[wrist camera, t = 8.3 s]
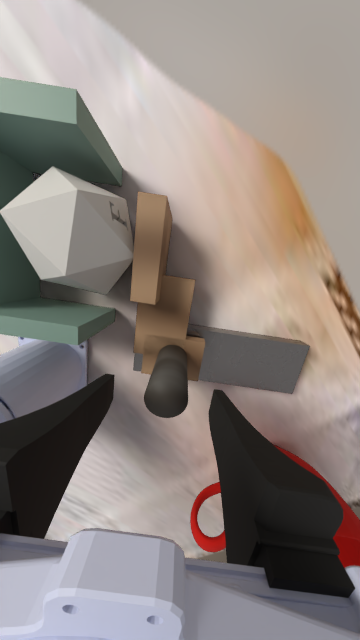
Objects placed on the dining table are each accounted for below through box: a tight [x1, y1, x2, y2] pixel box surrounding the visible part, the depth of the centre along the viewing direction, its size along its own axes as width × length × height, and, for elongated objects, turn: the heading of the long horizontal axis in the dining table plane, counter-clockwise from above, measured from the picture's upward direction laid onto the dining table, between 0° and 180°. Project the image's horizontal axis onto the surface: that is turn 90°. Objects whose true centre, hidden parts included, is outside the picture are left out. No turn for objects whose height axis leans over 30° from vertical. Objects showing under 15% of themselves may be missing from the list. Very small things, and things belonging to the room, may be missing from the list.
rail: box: [133, 324, 310, 394], centre depth 20 cm, size 6×18×2 cm, turn 82°
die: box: [0, 166, 134, 295], centre depth 14 cm, size 8×9×10 cm
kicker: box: [130, 192, 205, 418], centre depth 14 cm, size 16×7×9 cm, turn 172°
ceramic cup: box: [190, 445, 360, 568], centre depth 20 cm, size 13×17×10 cm
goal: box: [0, 77, 122, 345], centre depth 15 cm, size 15×10×7 cm, turn 172°
